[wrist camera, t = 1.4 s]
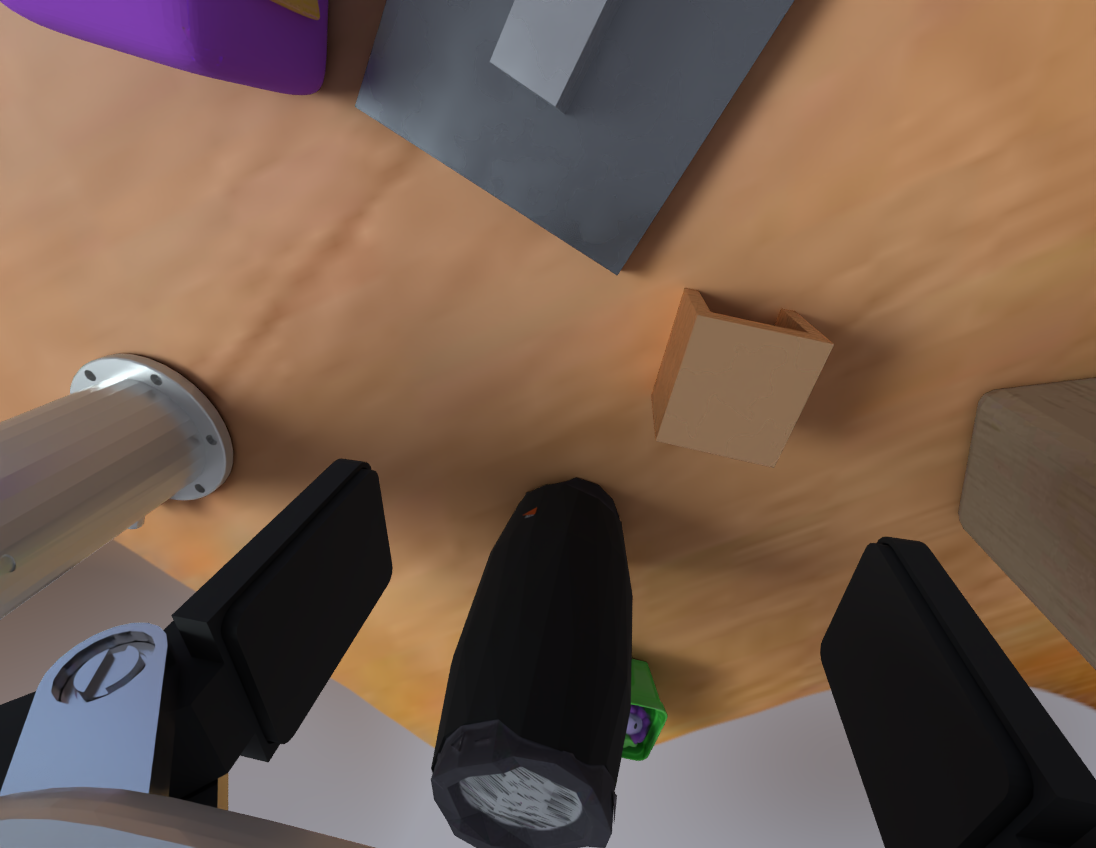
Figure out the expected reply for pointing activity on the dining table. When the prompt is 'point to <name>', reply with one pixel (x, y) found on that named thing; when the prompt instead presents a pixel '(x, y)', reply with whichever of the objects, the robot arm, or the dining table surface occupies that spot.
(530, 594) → the portable speaker
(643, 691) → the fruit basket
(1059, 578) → the wooden block
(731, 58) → the plate
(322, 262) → the dining table surface
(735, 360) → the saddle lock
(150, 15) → the toy camera
